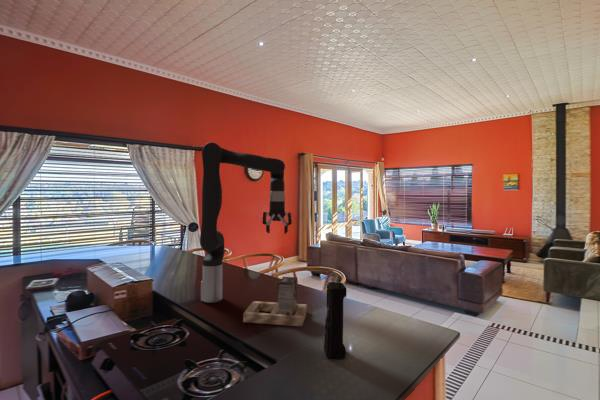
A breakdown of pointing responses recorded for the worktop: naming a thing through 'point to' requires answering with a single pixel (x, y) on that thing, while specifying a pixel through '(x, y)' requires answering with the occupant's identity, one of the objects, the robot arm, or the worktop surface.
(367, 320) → the worktop surface
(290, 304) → the coffee box
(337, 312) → the portable radio
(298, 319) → the wooden divided tray
